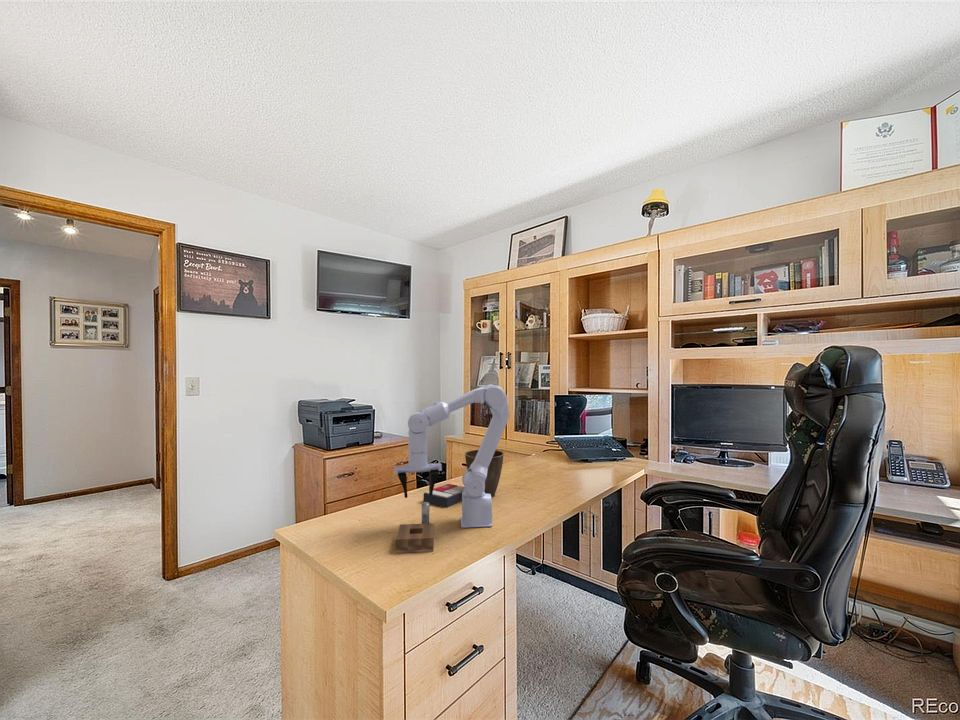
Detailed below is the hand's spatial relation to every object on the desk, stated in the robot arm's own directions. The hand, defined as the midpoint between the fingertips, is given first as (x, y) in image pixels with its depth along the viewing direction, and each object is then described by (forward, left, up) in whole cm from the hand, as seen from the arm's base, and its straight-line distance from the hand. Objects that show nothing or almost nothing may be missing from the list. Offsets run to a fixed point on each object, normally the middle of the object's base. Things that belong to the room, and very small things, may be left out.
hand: (418, 495), depth 122 cm
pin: (-2, 0, -9) cm, 10 cm away
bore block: (0, +12, -9) cm, 15 cm away
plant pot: (-23, -27, -10) cm, 37 cm away
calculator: (-9, -24, -10) cm, 27 cm away
